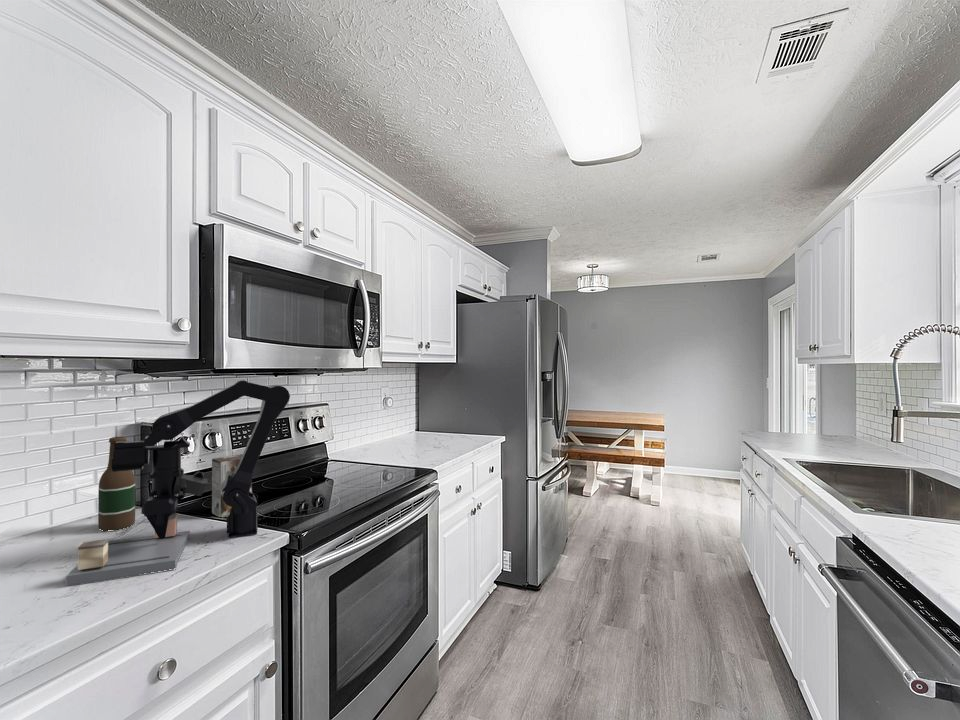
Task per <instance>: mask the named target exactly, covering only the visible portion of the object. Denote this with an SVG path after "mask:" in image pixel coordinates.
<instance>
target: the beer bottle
mask: <svg viewBox="0 0 960 720" xmlns="http://www.w3.org/2000/svg"><path fill="white" fill-rule="evenodd" d="M119 441H124V442H128V441H127V438H126V436H121V435H120V436H112V437H110V438H109V440H108V443H109V453H108V463H107V468H106V469H105V471H103V473H102V474H101V477H100V479H99V481H98V494H97V496H98V497H97V498H98V501H97V502H98V503H97V505H98V506H97V508H98V511H97V513H98V514H97V516H98V517H97V518H98V519H97V524H98V530H99V529H101V530H103V531H108V530H118V531H120V530H119V529H122V530H124V529H123V528H126V529H128V528H127V527H129V528H131V527H132V526H134V525H135V522H136V477H135V474H134V472H133V470H129V471H118V472H113V471H112V457H113V451H114V444H115V443H116V442H119ZM133 524H134V525H133ZM131 525H132V526H131ZM130 526H131V527H130ZM101 530H100V531H101ZM103 531H102V532H103Z"/></svg>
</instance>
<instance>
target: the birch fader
mask: <svg viewBox="0 0 960 720" xmlns="http://www.w3.org/2000/svg"><path fill="white" fill-rule="evenodd" d="M108 541H109V538H105V539H97V540H89V541H83V542H82V543H81V544H80V545H79V546H78V547H77V551H78V552H77V553H78V555H77V558H78V559H77V561H78V562H77V565H78V570H82V569H89V568H96V567H103V566H104V565H105V564H106V562H107V561H108Z"/></svg>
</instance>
